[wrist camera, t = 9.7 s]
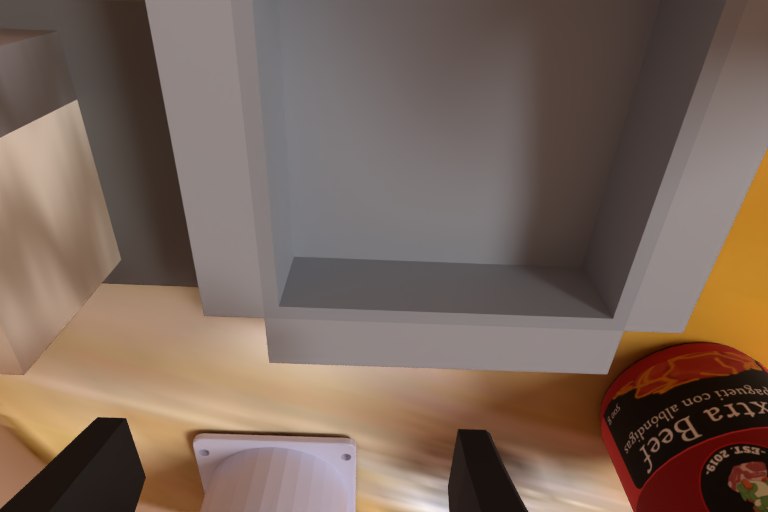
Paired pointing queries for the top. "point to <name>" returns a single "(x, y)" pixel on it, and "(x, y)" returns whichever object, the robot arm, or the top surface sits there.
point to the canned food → (690, 430)
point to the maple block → (45, 200)
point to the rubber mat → (122, 129)
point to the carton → (460, 170)
